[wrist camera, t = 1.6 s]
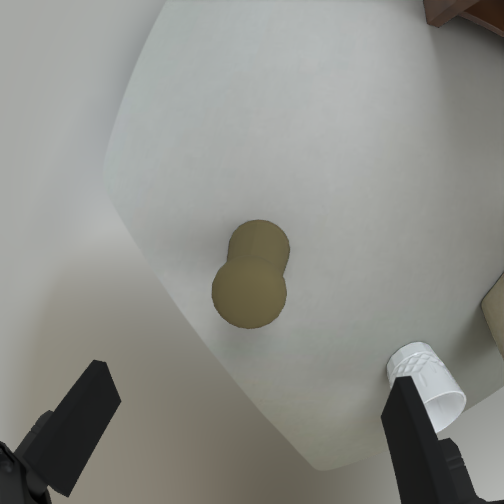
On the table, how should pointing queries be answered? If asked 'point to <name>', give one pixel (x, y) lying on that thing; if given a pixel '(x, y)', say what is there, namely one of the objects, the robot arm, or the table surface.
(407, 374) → the white cup
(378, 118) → the table surface
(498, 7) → the miniature wooden nightstand
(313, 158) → the table surface
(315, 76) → the table surface
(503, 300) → the flower pot
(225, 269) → the olive pawn
